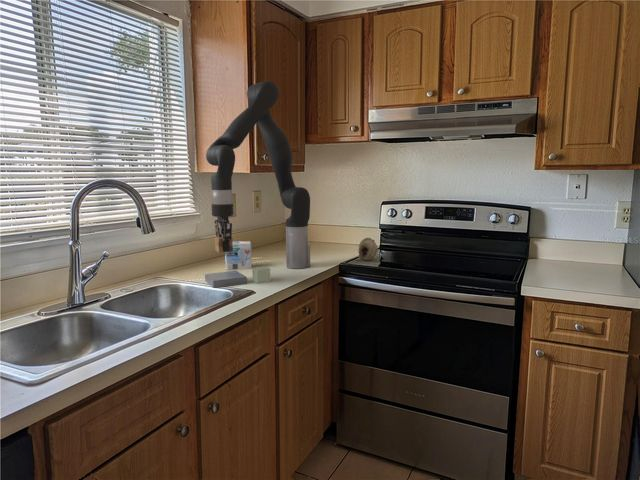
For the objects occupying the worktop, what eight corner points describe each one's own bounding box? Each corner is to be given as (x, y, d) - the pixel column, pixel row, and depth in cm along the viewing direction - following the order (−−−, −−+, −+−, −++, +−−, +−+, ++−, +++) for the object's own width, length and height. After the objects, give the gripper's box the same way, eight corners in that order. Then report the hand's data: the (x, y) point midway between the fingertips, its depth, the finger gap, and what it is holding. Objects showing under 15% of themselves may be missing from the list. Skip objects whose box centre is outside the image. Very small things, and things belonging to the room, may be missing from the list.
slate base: (236, 276, 172) (236, 270, 172) (246, 283, 162) (246, 276, 161) (205, 280, 167) (204, 274, 166) (213, 287, 156) (213, 280, 156)
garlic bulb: (357, 257, 208) (357, 236, 207) (376, 257, 208) (376, 236, 206) (358, 261, 199) (358, 239, 197) (378, 261, 198) (378, 239, 197)
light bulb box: (226, 270, 184) (225, 244, 183) (225, 267, 191) (224, 241, 189) (252, 268, 187) (251, 242, 185) (250, 265, 193) (249, 240, 192)
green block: (265, 279, 169) (265, 266, 168) (270, 281, 164) (270, 268, 163) (252, 280, 166) (252, 267, 166) (257, 283, 162) (257, 269, 161)
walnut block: (228, 249, 166) (228, 236, 165) (232, 251, 161) (232, 237, 161) (215, 250, 163) (214, 237, 163) (219, 252, 159) (218, 238, 158)
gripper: (238, 203, 155) (240, 252, 158) (226, 201, 168) (228, 246, 170) (217, 204, 152) (219, 254, 154) (206, 202, 164) (208, 248, 167)
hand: (224, 249), depth 162 cm, fingers closed on walnut block, 5 cm apart
